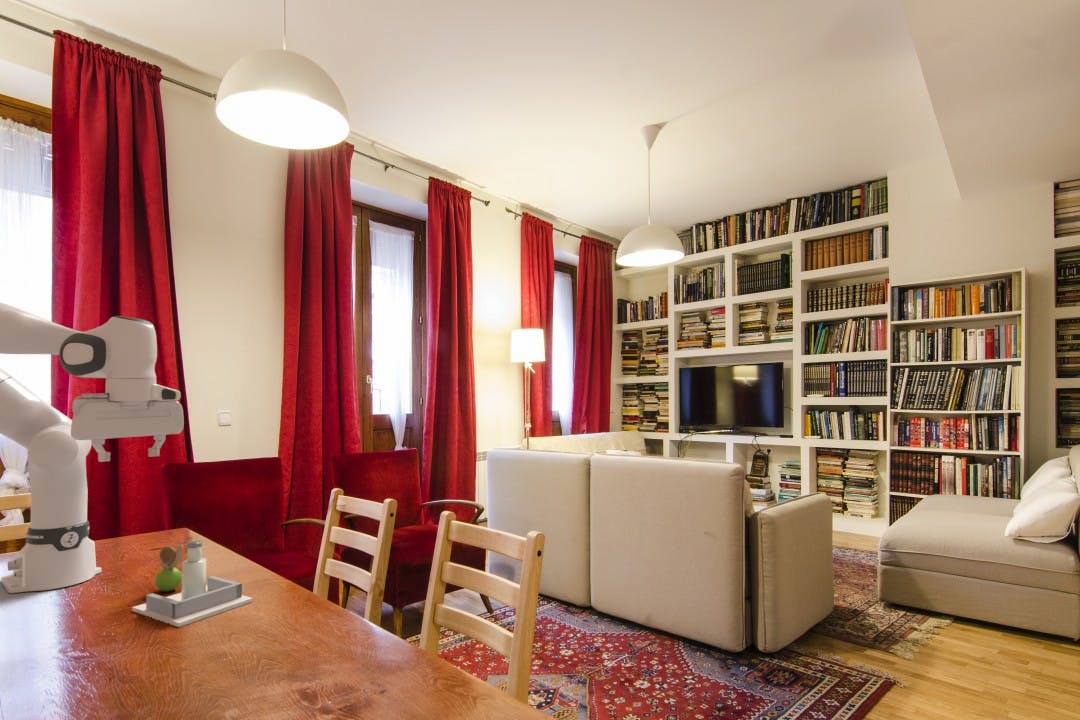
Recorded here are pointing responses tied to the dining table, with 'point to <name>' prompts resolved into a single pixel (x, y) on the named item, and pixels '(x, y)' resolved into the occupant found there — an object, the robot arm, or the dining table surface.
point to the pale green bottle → (193, 572)
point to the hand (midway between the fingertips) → (129, 458)
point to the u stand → (194, 603)
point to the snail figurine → (169, 568)
